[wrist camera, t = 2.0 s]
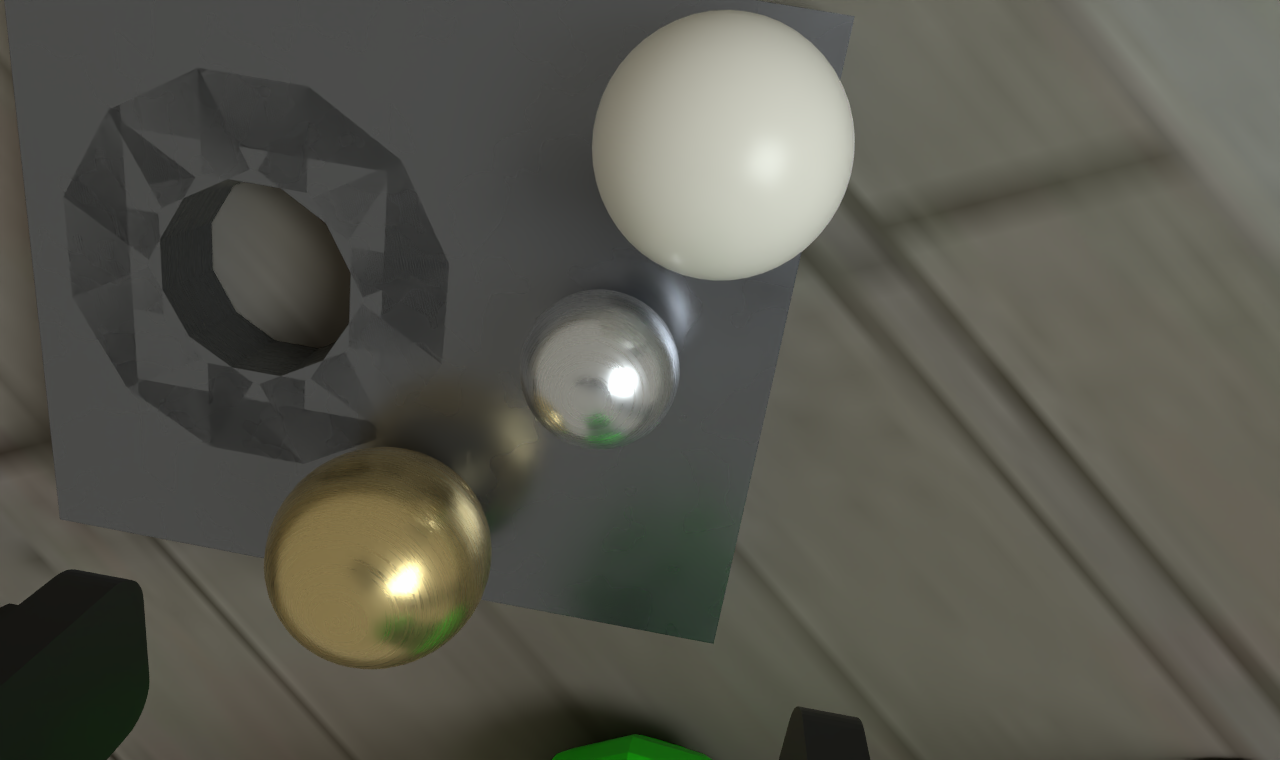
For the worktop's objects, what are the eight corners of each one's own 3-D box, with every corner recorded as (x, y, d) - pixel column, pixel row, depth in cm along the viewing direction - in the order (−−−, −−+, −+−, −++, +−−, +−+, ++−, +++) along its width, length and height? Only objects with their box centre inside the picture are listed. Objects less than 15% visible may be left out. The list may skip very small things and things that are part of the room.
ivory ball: (863, 36, 20) (909, 28, 15) (809, 268, 22) (834, 333, 17) (627, -2, 20) (591, -23, 15) (596, 231, 22) (555, 284, 17)
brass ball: (523, 433, 25) (464, 539, 19) (504, 601, 27) (446, 739, 21) (326, 397, 25) (213, 491, 19) (323, 566, 27) (220, 694, 21)
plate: (841, 20, 22) (854, 16, 20) (714, 596, 29) (713, 643, 26) (65, -105, 23) (-9, -123, 21) (112, 483, 30) (60, 519, 27)
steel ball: (695, 287, 23) (689, 332, 19) (670, 423, 24) (659, 491, 20) (546, 260, 23) (510, 300, 19) (530, 398, 24) (494, 461, 20)
